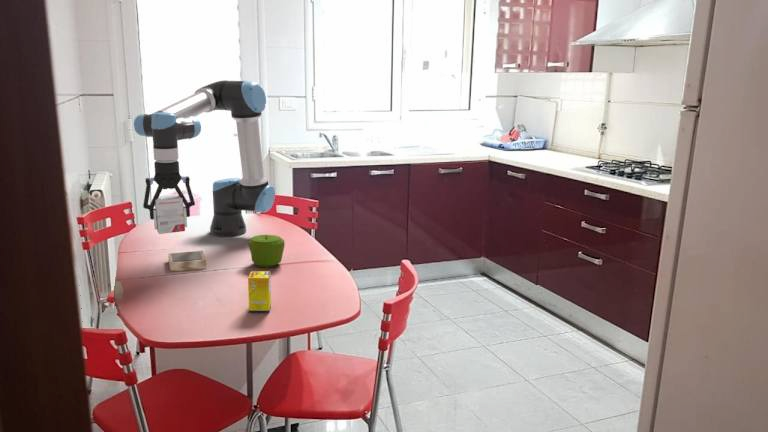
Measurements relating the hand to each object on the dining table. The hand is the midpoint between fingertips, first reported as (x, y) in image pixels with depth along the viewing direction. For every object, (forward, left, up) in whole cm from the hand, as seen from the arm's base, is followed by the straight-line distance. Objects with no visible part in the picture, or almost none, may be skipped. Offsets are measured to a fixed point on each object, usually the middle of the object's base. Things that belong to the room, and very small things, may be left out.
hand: (170, 227), depth 202 cm
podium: (-5, -9, -17) cm, 19 cm away
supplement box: (-22, +40, -17) cm, 49 cm away
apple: (-32, -1, -17) cm, 36 cm away
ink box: (0, 0, -2) cm, 2 cm away
